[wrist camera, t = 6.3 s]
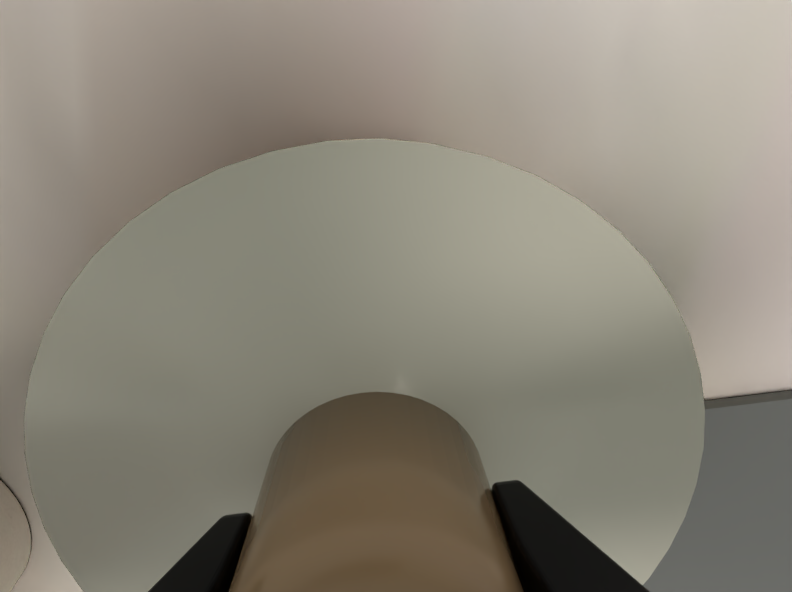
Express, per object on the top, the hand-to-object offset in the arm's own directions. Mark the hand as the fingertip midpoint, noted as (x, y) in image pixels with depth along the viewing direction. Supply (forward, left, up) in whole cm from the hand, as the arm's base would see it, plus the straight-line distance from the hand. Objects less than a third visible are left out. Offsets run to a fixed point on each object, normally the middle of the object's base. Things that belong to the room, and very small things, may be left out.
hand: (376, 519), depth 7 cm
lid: (0, 0, -2) cm, 2 cm away
